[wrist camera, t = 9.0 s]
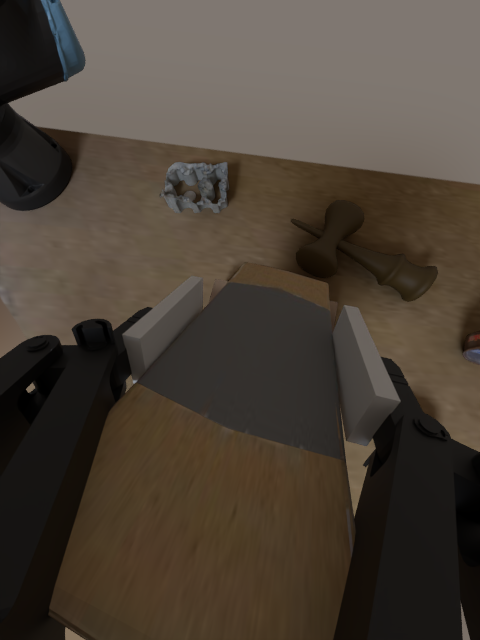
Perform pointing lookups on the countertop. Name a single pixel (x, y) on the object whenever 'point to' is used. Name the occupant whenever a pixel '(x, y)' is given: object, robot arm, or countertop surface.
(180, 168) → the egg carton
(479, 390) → the countertop surface
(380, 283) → the kendama
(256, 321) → the sandwich container
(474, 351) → the tin
